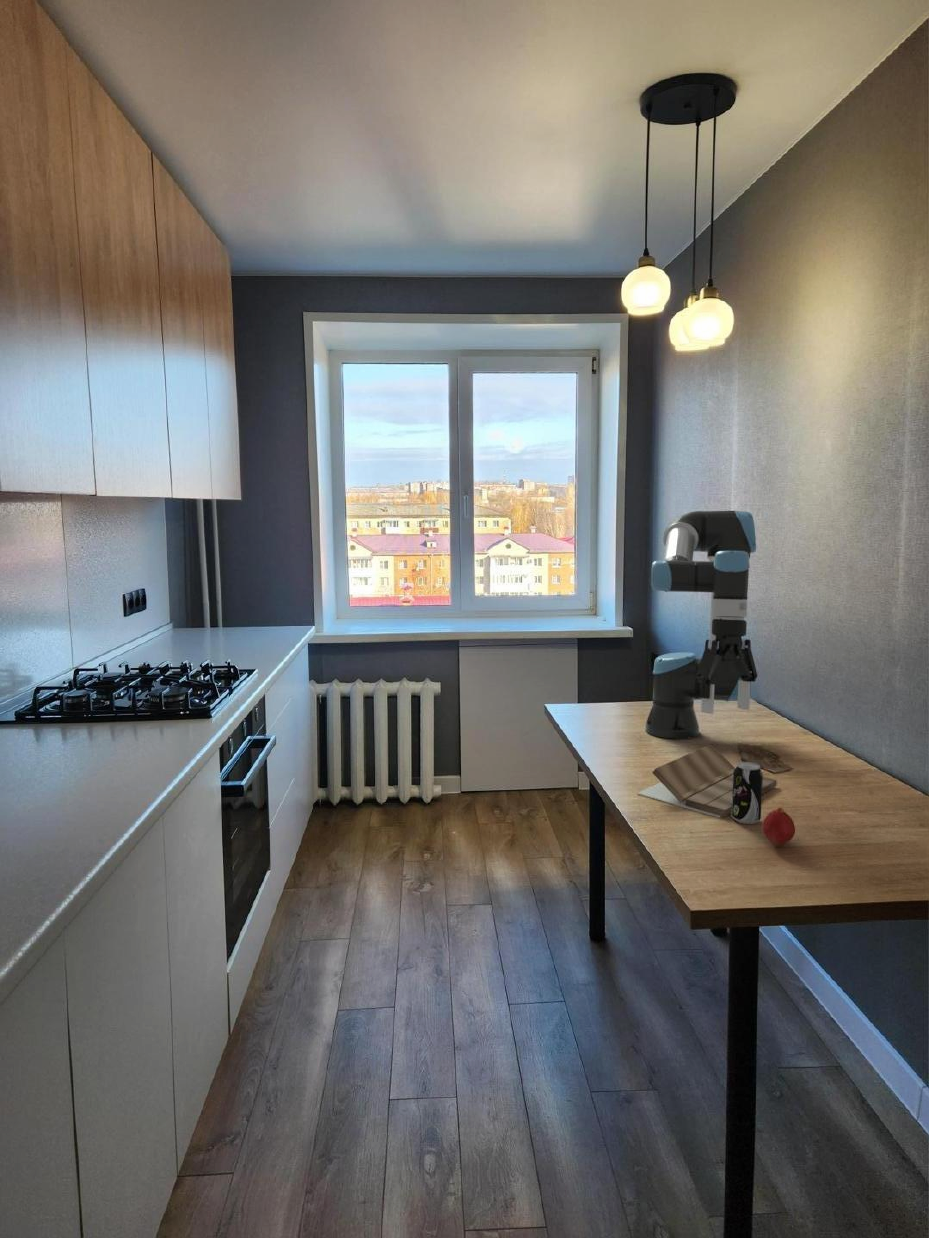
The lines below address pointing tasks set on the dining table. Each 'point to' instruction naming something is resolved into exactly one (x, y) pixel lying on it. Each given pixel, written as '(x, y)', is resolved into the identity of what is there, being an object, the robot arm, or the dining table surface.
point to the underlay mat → (668, 797)
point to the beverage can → (747, 793)
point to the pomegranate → (778, 827)
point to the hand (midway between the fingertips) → (725, 711)
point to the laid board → (721, 796)
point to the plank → (694, 772)
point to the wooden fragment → (763, 758)
